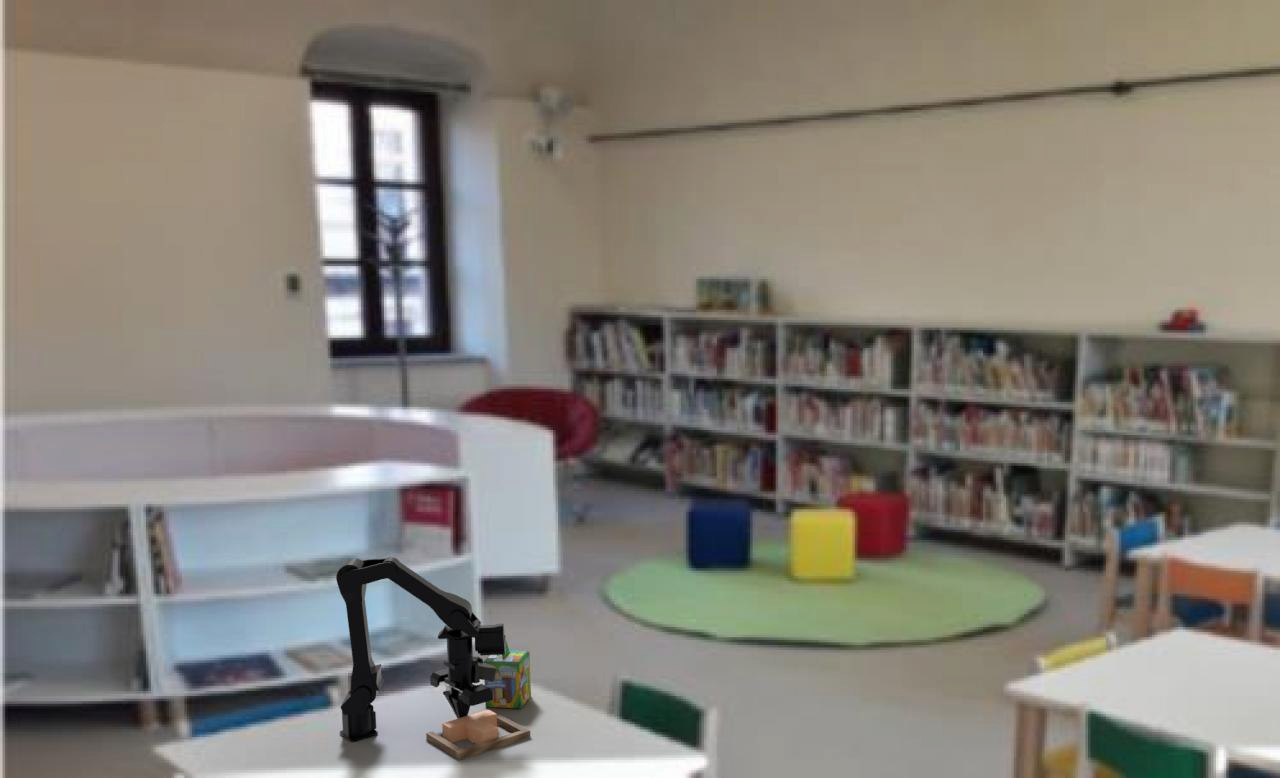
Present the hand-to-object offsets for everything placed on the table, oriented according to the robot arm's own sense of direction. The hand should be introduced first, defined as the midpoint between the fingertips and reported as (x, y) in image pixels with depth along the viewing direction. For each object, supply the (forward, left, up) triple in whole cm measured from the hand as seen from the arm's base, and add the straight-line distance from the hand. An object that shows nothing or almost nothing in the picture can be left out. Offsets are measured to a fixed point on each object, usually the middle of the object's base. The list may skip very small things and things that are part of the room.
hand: (462, 722), depth 255 cm
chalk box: (+17, +7, -2) cm, 19 cm away
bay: (0, -7, -2) cm, 7 cm away
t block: (0, -6, -2) cm, 6 cm away
